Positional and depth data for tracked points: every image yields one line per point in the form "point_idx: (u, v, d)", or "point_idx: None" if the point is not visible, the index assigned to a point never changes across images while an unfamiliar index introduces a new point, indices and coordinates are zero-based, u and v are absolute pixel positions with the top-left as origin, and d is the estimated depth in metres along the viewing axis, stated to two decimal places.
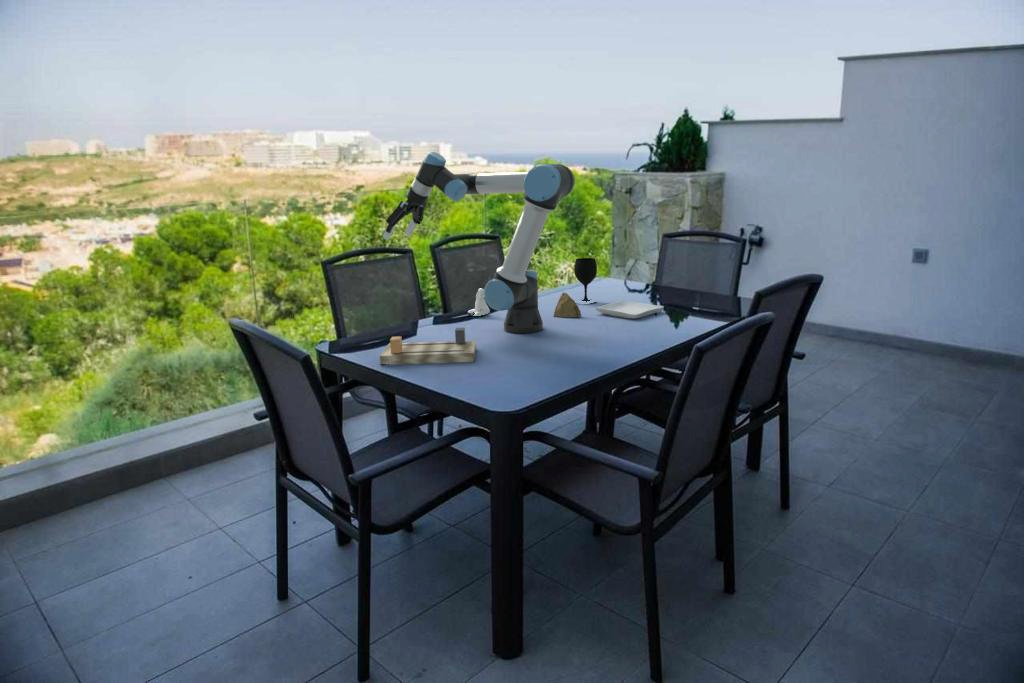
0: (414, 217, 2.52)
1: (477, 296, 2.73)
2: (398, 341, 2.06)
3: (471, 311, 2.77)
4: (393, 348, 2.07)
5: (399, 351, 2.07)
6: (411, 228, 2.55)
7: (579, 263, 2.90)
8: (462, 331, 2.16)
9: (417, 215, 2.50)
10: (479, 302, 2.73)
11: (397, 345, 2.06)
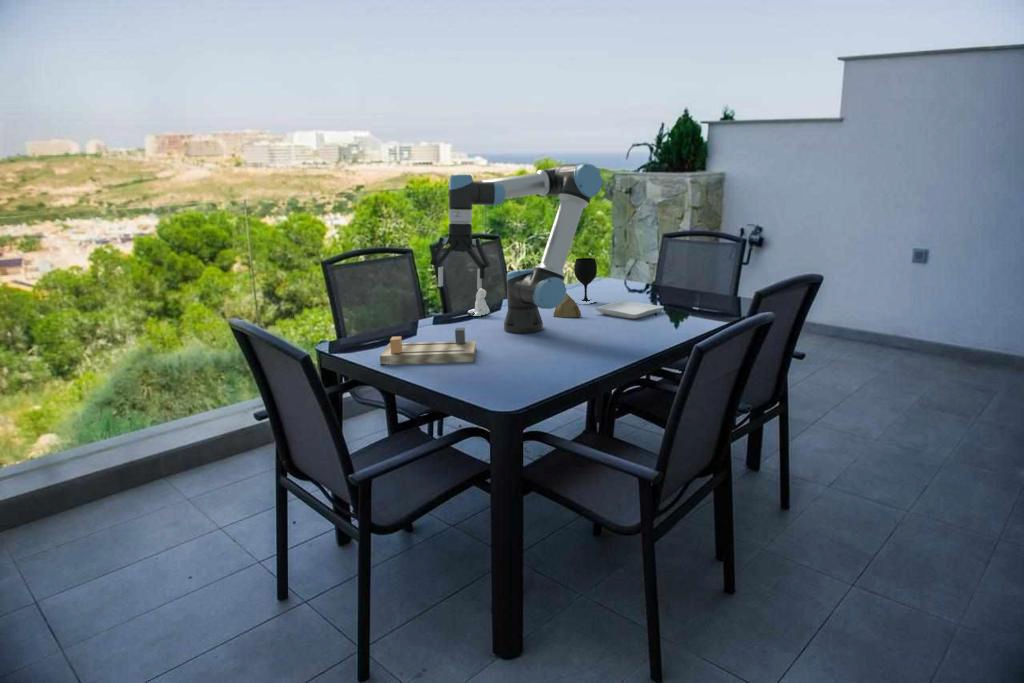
0: (443, 260, 2.15)
1: (477, 296, 2.73)
2: (398, 341, 2.06)
3: (471, 311, 2.77)
4: (393, 348, 2.07)
5: (399, 351, 2.07)
6: (442, 274, 2.17)
7: (579, 263, 2.90)
8: (462, 331, 2.16)
9: None
10: (479, 302, 2.73)
11: (397, 345, 2.06)
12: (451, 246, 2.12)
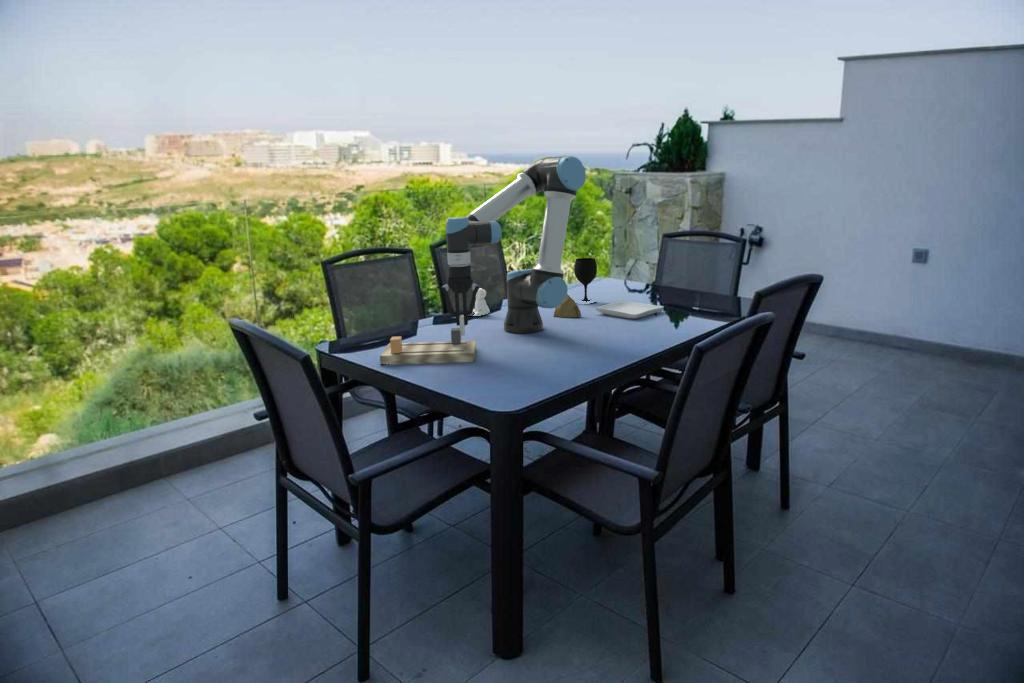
0: (459, 306, 2.15)
1: (477, 296, 2.73)
2: (398, 341, 2.06)
3: None
4: (393, 348, 2.07)
5: (399, 351, 2.07)
6: None
7: (579, 263, 2.90)
8: (458, 331, 2.16)
9: None
10: (479, 302, 2.73)
11: (397, 345, 2.06)
12: (456, 290, 2.12)
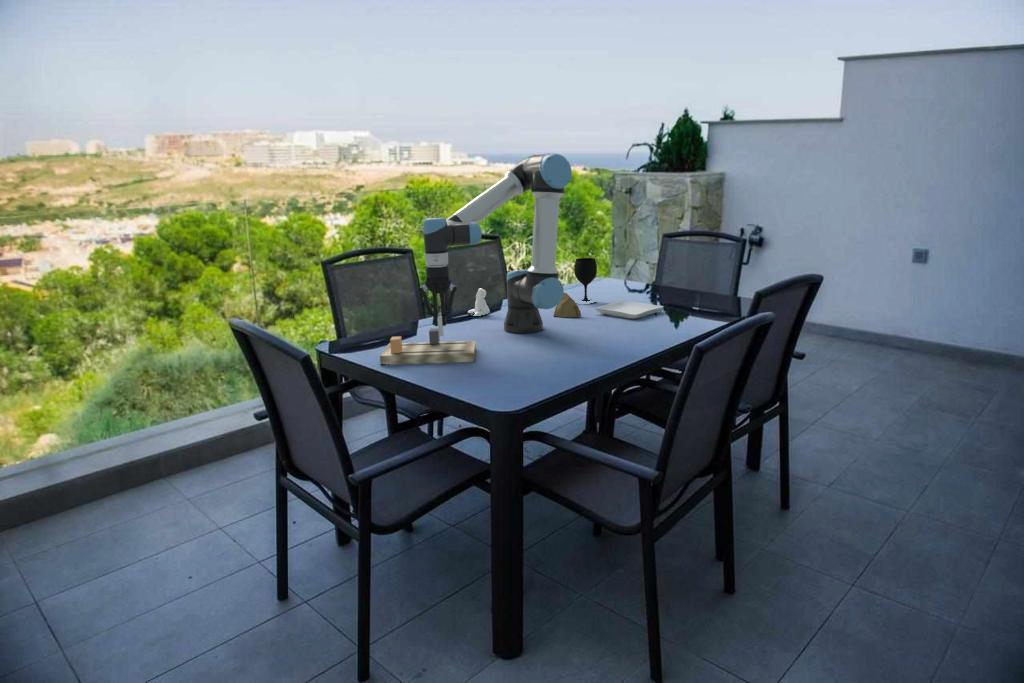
0: (437, 307, 2.15)
1: (477, 296, 2.73)
2: (398, 341, 2.06)
3: (471, 311, 2.77)
4: (393, 348, 2.07)
5: (399, 351, 2.07)
6: None
7: (579, 263, 2.90)
8: (436, 332, 2.16)
9: None
10: (479, 302, 2.73)
11: (397, 345, 2.06)
12: (433, 290, 2.12)
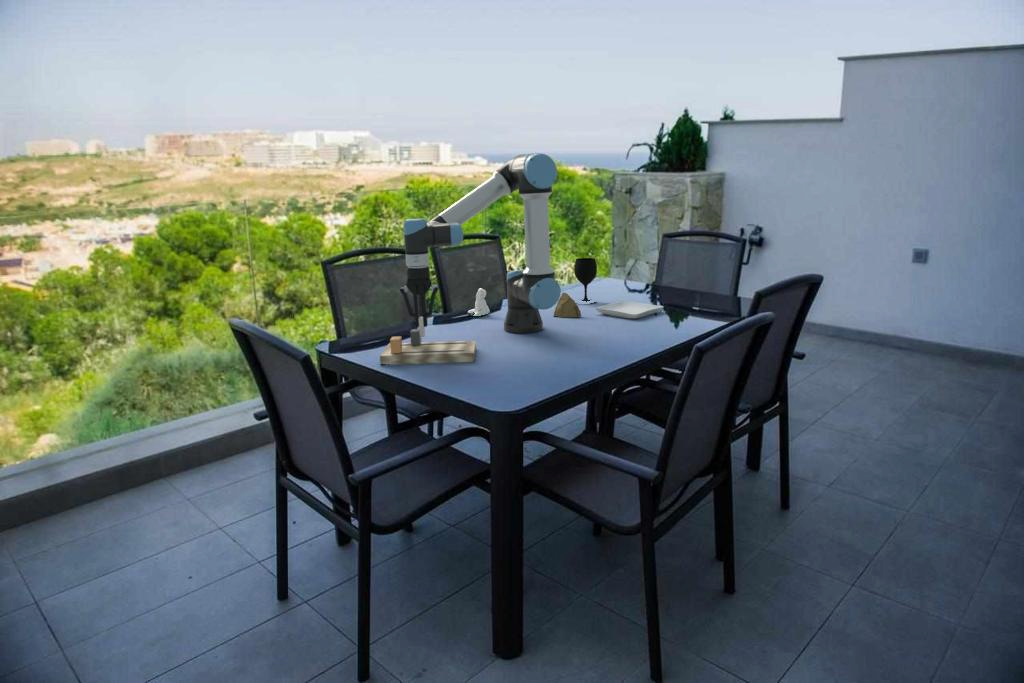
0: (418, 308, 2.16)
1: (477, 296, 2.73)
2: (398, 341, 2.06)
3: (471, 311, 2.77)
4: (393, 348, 2.07)
5: (399, 351, 2.07)
6: None
7: (579, 263, 2.90)
8: (417, 332, 2.16)
9: None
10: (479, 302, 2.73)
11: (397, 345, 2.06)
12: (414, 291, 2.13)
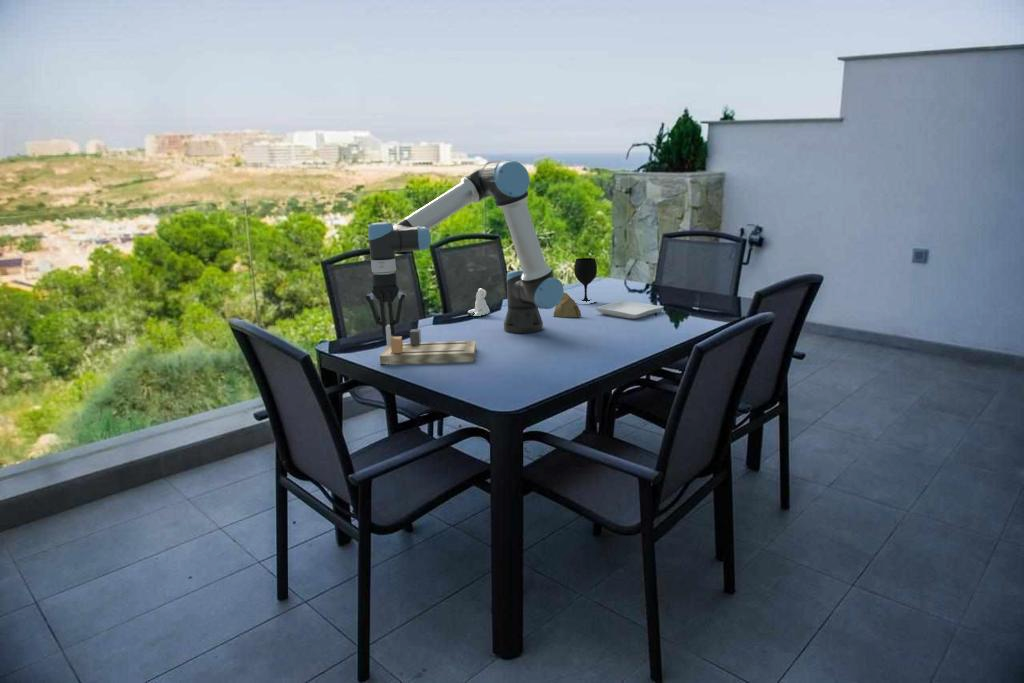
0: (385, 315, 2.06)
1: (477, 296, 2.73)
2: (399, 341, 2.06)
3: (471, 311, 2.77)
4: (393, 348, 2.07)
5: (400, 351, 2.07)
6: None
7: (579, 263, 2.90)
8: (417, 332, 2.16)
9: None
10: (479, 302, 2.73)
11: (398, 345, 2.06)
12: (380, 299, 2.03)
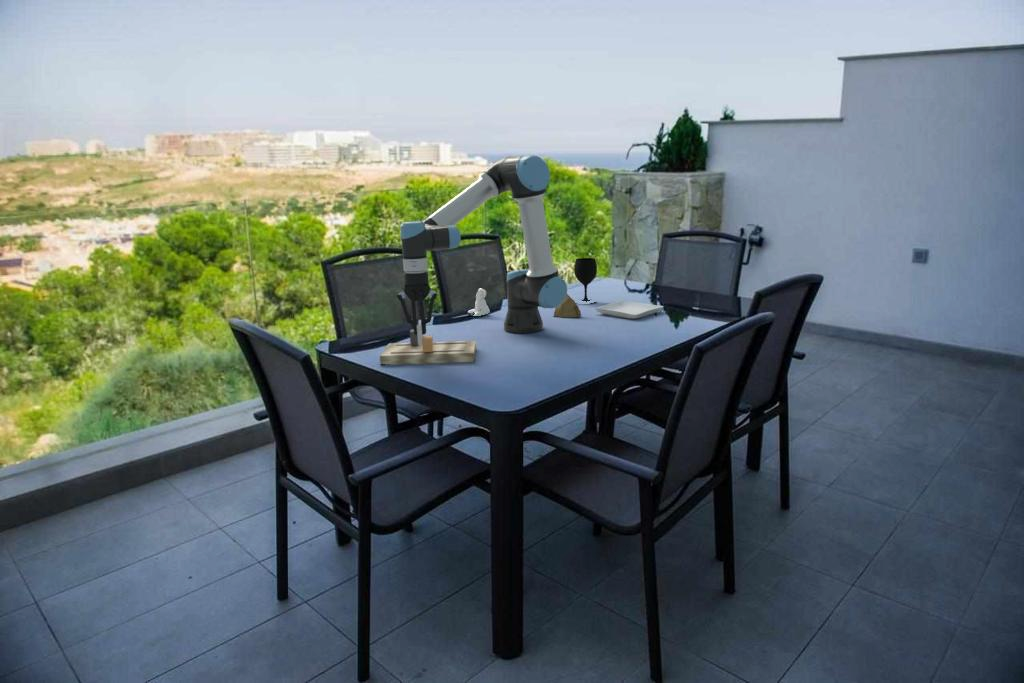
0: (416, 314, 2.06)
1: (477, 296, 2.73)
2: (430, 340, 2.06)
3: (471, 311, 2.77)
4: (424, 347, 2.07)
5: (431, 350, 2.07)
6: None
7: (579, 263, 2.90)
8: None
9: None
10: (479, 302, 2.73)
11: (429, 344, 2.06)
12: (412, 298, 2.03)
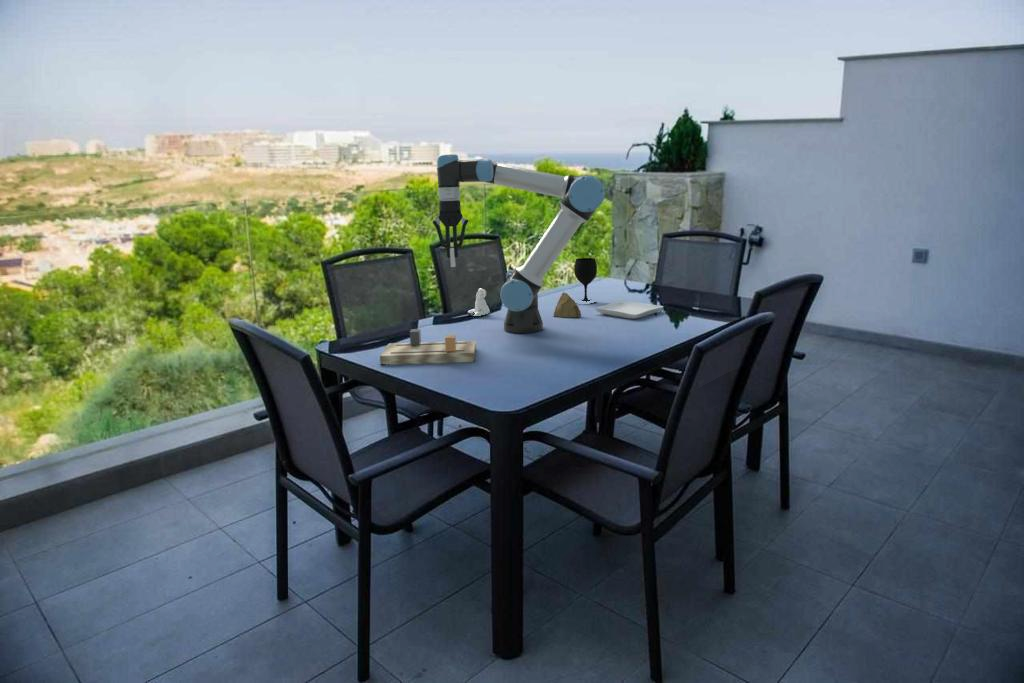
0: (449, 239, 2.31)
1: (477, 296, 2.73)
2: (453, 339, 2.06)
3: (471, 311, 2.77)
4: (447, 347, 2.07)
5: (454, 349, 2.07)
6: None
7: (579, 263, 2.90)
8: (417, 332, 2.16)
9: None
10: (479, 302, 2.73)
11: (452, 343, 2.06)
12: (446, 223, 2.28)
